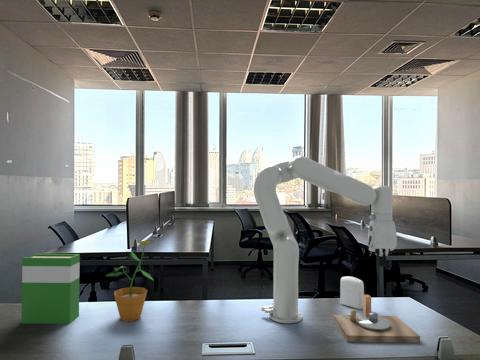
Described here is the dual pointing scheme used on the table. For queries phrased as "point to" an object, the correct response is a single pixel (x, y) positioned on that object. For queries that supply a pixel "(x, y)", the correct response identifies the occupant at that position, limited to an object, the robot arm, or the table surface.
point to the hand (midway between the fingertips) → (381, 266)
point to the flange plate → (373, 326)
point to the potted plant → (130, 292)
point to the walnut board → (360, 334)
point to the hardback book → (50, 288)
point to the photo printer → (351, 292)
